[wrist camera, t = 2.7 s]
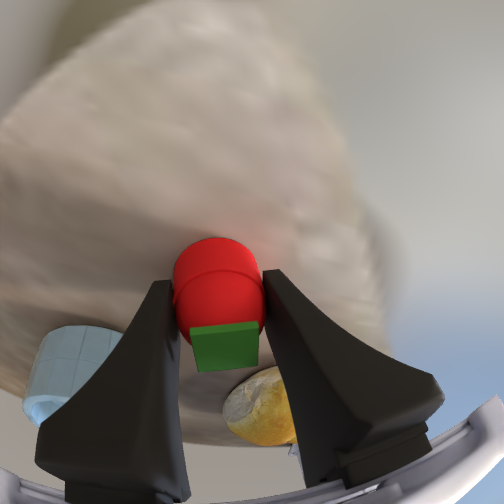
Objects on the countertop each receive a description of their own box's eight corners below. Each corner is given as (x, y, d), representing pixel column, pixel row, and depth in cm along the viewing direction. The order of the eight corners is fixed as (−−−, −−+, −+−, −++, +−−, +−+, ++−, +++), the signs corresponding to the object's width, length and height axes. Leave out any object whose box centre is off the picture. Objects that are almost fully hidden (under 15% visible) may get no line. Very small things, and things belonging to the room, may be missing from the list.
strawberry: (256, 299, 13) (276, 373, 10) (180, 307, 13) (181, 384, 9) (257, 233, 11) (285, 307, 8) (168, 241, 11) (160, 319, 7)
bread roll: (298, 418, 22) (309, 457, 19) (206, 407, 18) (212, 457, 15) (370, 366, 19) (391, 409, 16) (279, 342, 15) (299, 405, 12)
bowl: (183, 397, 17) (187, 458, 13) (76, 396, 16) (69, 451, 12) (154, 313, 13) (149, 400, 9) (20, 318, 11) (-7, 385, 8)
